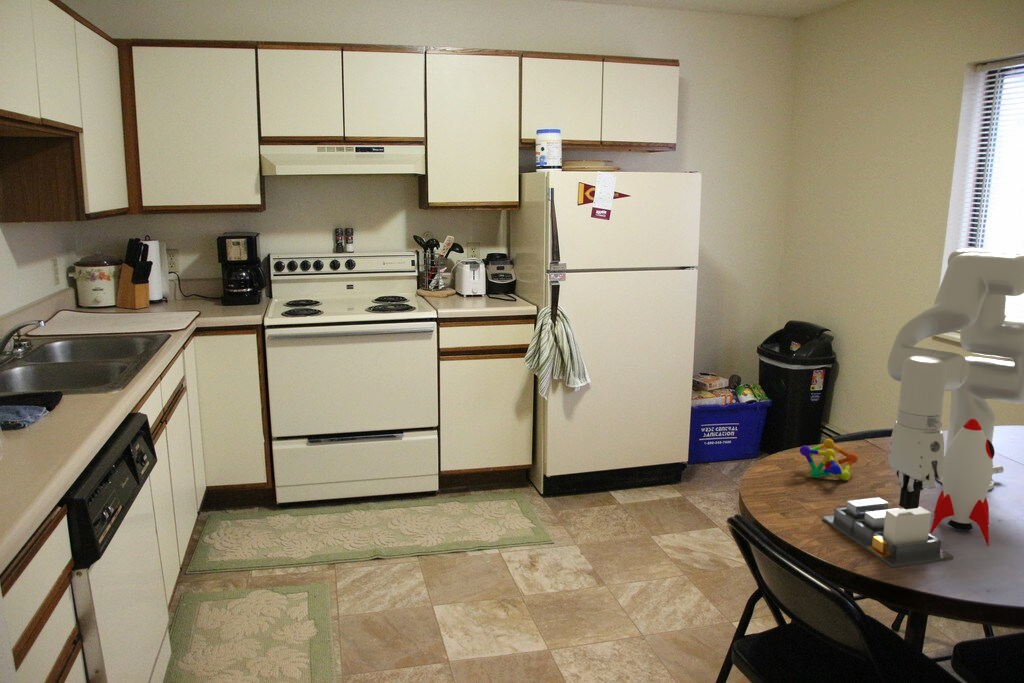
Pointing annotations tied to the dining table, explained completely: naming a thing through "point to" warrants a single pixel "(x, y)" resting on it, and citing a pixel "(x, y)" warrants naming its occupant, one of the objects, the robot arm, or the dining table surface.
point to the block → (906, 525)
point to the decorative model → (829, 460)
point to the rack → (867, 530)
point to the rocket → (966, 480)
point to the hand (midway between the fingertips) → (908, 507)
